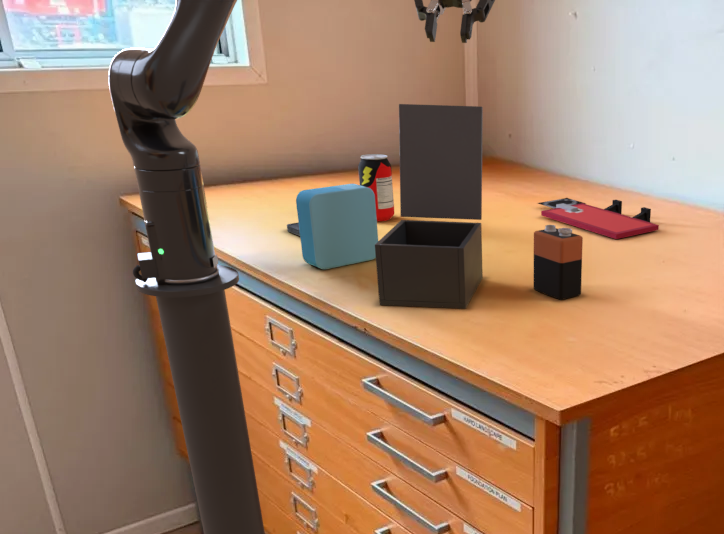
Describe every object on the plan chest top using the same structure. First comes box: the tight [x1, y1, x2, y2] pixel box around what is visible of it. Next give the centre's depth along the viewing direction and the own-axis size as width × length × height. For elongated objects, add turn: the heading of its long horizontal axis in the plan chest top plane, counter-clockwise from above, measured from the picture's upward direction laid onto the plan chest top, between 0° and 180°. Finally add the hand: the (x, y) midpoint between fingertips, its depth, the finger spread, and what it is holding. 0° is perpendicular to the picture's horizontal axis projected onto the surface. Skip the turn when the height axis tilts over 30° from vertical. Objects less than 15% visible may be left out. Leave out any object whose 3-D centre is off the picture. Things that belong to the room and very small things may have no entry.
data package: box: [295, 183, 379, 270], centre depth 143 cm, size 12×4×12 cm, turn 135°
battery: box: [533, 224, 584, 301], centre depth 131 cm, size 4×7×10 cm, turn 41°
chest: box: [375, 219, 484, 310], centre depth 131 cm, size 16×13×9 cm
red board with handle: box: [537, 197, 660, 240], centre depth 177 cm, size 30×3×15 cm
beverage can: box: [357, 153, 395, 222], centre depth 171 cm, size 6×6×12 cm
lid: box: [398, 103, 484, 221], centre depth 133 cm, size 16×13×1 cm
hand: (447, 38), depth 135 cm, fingers open, 4 cm apart
